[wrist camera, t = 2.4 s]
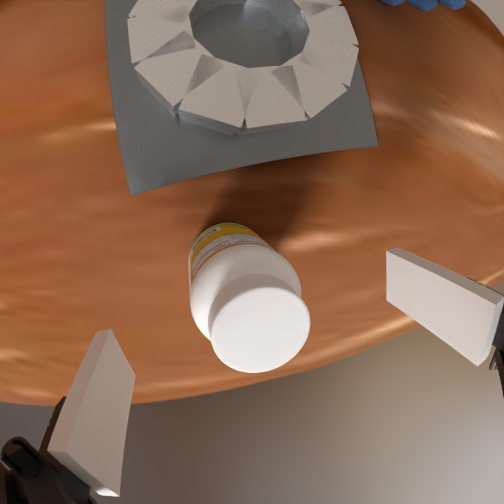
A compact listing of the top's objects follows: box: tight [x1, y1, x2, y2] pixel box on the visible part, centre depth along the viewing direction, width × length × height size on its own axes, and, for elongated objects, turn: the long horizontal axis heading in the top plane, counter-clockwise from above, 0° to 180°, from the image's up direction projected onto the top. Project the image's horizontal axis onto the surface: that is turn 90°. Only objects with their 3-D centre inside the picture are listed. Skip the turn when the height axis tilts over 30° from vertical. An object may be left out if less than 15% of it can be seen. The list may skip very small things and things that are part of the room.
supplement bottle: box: [189, 223, 310, 373], centre depth 15 cm, size 5×5×10 cm
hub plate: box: [105, 0, 378, 196], centre depth 13 cm, size 18×18×5 cm
